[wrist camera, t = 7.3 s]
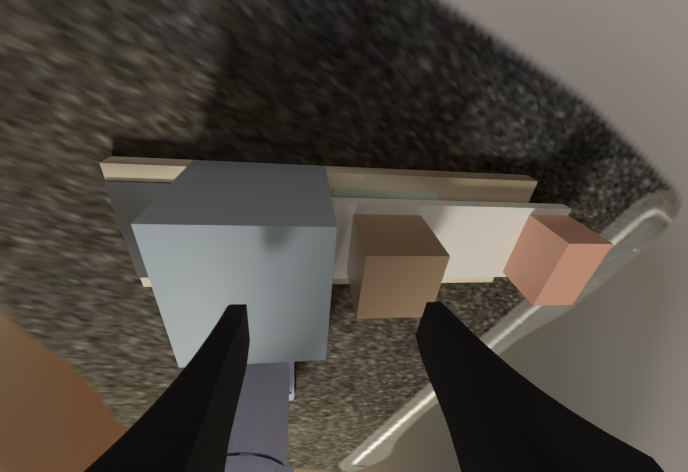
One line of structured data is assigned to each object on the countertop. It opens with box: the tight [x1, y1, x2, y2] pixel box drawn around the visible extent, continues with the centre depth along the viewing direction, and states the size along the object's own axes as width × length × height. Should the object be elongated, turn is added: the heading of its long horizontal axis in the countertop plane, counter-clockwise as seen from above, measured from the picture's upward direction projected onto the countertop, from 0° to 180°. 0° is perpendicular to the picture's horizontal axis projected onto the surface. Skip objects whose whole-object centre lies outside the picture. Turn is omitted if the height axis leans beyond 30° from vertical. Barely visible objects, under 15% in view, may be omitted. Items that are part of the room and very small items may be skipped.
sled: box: [331, 197, 613, 319], centre depth 19 cm, size 6×17×5 cm, turn 85°
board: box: [100, 156, 538, 287], centre depth 21 cm, size 9×27×1 cm, turn 85°
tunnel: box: [131, 160, 337, 367], centre depth 18 cm, size 9×8×8 cm
